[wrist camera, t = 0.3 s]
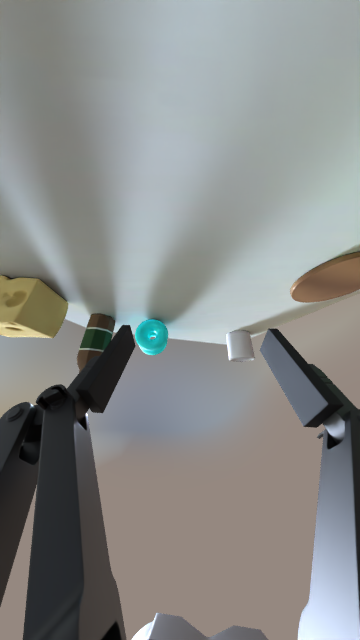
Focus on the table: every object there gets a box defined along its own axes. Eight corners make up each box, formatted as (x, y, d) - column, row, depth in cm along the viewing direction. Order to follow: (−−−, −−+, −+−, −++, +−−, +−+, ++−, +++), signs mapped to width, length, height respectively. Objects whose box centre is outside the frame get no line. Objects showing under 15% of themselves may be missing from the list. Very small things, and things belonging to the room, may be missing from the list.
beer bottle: (93, 321, 48) (68, 402, 38) (85, 311, 41) (52, 406, 31) (117, 324, 50) (99, 402, 39) (113, 315, 43) (90, 406, 33)
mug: (233, 329, 51) (237, 357, 47) (256, 331, 52) (262, 358, 48) (220, 338, 61) (222, 361, 57) (240, 339, 62) (244, 362, 58)
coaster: (328, 250, 21) (331, 255, 20) (420, 249, 20) (425, 253, 20) (276, 298, 33) (278, 302, 32) (334, 298, 32) (336, 302, 32)
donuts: (169, 318, 44) (167, 350, 40) (167, 330, 53) (166, 356, 49) (137, 316, 43) (131, 348, 39) (141, 328, 52) (137, 355, 48)
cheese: (-19, 272, 27) (-57, 318, 23) (41, 277, 28) (15, 322, 24) (29, 301, 36) (8, 337, 32) (72, 304, 37) (57, 340, 33)
